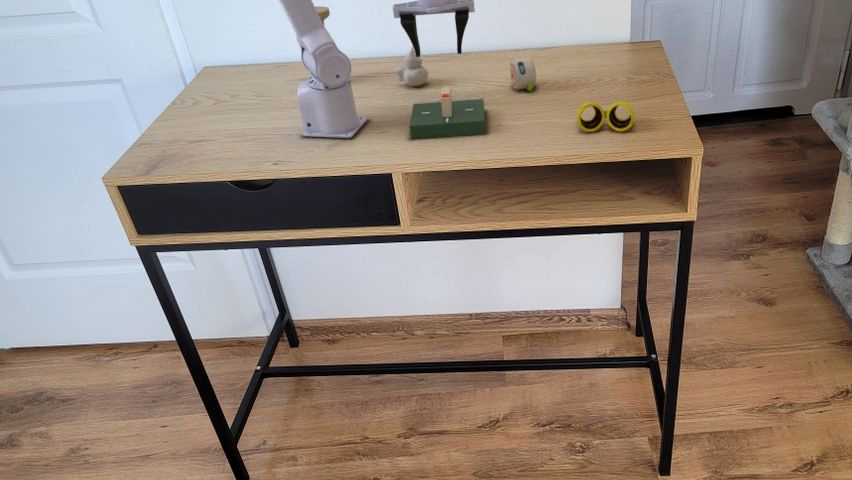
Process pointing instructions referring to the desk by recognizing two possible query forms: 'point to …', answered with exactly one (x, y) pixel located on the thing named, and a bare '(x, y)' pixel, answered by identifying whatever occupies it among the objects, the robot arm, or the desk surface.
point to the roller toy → (523, 73)
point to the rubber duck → (412, 70)
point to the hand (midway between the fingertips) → (439, 53)
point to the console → (448, 119)
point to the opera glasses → (602, 114)
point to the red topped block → (446, 102)
